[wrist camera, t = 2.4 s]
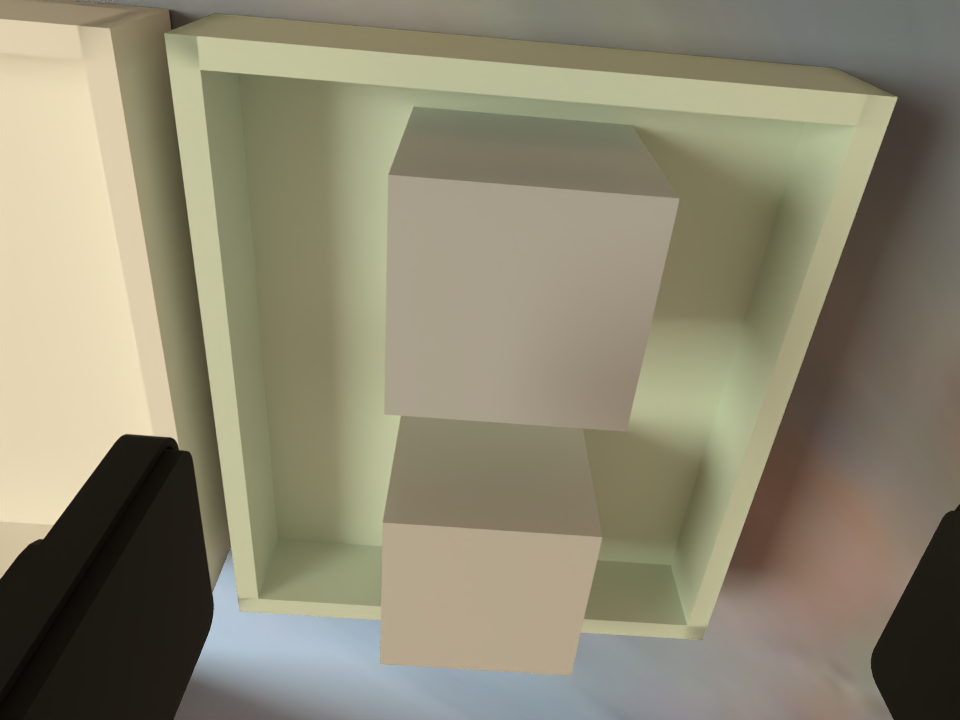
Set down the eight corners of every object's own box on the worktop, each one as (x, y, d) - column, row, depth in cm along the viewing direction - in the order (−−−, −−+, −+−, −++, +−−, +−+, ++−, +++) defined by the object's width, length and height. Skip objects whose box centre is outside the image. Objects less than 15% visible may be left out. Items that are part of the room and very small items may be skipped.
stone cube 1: (413, 106, 17) (388, 174, 13) (631, 125, 17) (679, 198, 13) (407, 302, 19) (384, 414, 15) (596, 317, 20) (626, 431, 15)
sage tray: (214, 13, 16) (163, 33, 14) (836, 67, 17) (897, 97, 14) (265, 538, 25) (239, 611, 22) (680, 565, 25) (702, 640, 23)
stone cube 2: (403, 397, 21) (382, 522, 17) (579, 410, 21) (602, 537, 17) (399, 527, 24) (380, 663, 19) (555, 537, 24) (570, 675, 20)
